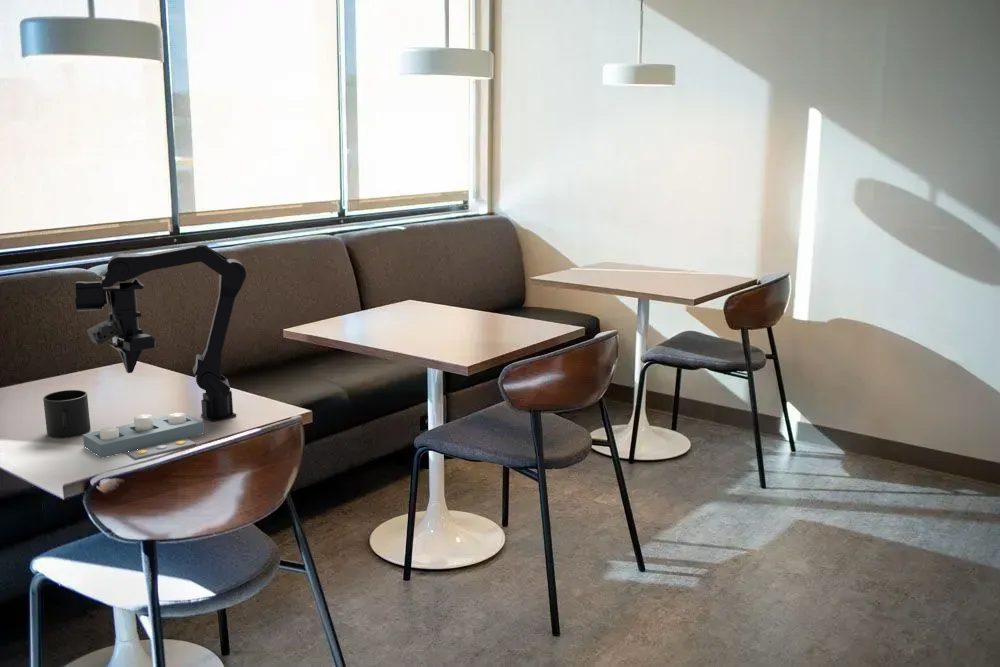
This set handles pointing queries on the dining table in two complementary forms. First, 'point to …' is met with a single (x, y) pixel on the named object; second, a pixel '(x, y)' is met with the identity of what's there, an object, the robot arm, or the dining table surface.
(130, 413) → the dining table surface
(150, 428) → the button mid
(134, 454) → the card
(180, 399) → the dining table surface
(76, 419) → the mug
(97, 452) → the button board
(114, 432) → the button
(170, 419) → the button
